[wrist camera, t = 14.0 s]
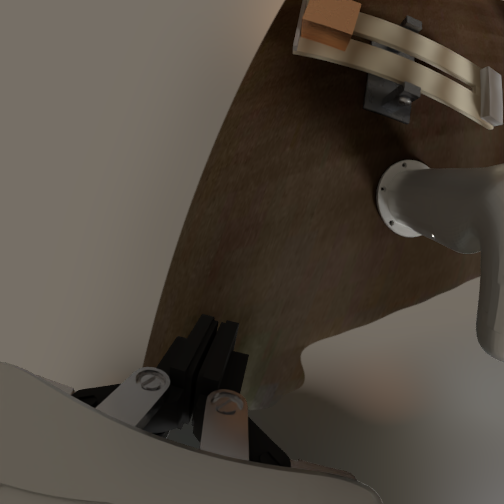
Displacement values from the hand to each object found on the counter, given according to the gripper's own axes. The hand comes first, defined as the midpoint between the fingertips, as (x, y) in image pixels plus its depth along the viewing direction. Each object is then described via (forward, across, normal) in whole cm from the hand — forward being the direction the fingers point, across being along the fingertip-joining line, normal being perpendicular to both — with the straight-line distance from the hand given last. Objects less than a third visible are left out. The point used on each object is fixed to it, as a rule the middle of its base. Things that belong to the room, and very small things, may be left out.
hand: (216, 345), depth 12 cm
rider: (+25, -3, -30) cm, 39 cm away
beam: (+25, -15, -30) cm, 42 cm away
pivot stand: (+33, -15, -30) cm, 47 cm away
